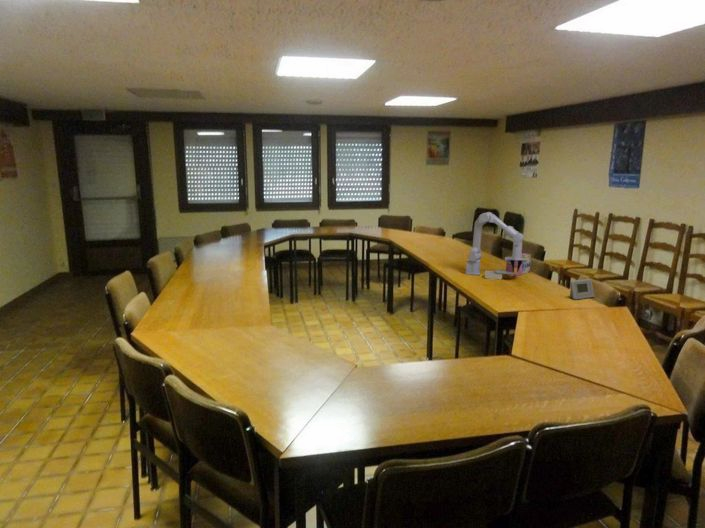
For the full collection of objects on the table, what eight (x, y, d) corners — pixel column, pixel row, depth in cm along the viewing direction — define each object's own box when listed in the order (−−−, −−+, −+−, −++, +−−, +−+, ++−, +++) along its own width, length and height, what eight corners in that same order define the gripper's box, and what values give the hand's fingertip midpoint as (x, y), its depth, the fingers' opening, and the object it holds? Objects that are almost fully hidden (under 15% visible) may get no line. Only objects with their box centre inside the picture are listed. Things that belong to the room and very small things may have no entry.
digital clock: (573, 300, 272) (575, 282, 270) (563, 296, 281) (565, 278, 279) (598, 299, 276) (600, 281, 274) (587, 295, 284) (589, 277, 282)
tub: (484, 278, 322) (485, 272, 321) (484, 276, 330) (485, 270, 329) (501, 280, 319) (502, 274, 318) (501, 277, 327) (502, 271, 326)
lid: (495, 273, 319) (496, 267, 318) (495, 270, 327) (496, 264, 326) (517, 274, 315) (517, 268, 315) (516, 272, 324) (516, 266, 323)
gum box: (520, 270, 351) (522, 252, 348) (531, 272, 345) (532, 253, 342) (505, 275, 334) (506, 256, 331) (515, 277, 328) (517, 257, 326)
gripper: (505, 252, 315) (504, 272, 318) (529, 253, 311) (527, 273, 314) (505, 250, 322) (503, 270, 324) (528, 251, 318) (526, 271, 320)
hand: (515, 271), depth 319 cm, fingers closed on lid, 2 cm apart
